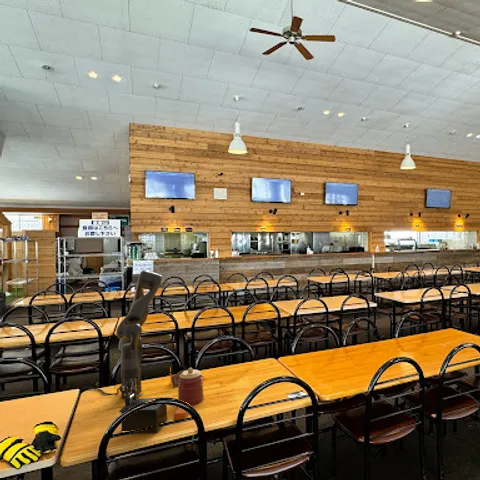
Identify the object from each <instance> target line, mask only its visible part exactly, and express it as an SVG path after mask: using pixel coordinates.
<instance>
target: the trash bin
mask: <svg viewBox="0 0 480 480" xmlns="http://www.w3.org/2000/svg"><path fill="white" fill-rule="evenodd" d="M122 413H124V412H120V415H121V414H122ZM167 421H168V404H167V405H165V404H162V405H161V406H160V407H159V409H158V410H157V411H145V412H135V413H133V414H131V415H130V416H128V417H127V418H126V419H125V420H124V421H123V422H122V423H120V424H121V432H122V431H131V430H137V429H142V428H146V427H151V426H156V427H154V428H151V429H147V430H143V431H139V432H135V433H131V434H130V435H136V434H139V435H141V434H158V433H159V430H160V429H161V428H162V427H163V425H162V426H160V427H157V425H160V424H161V423H164V424H165V423H166V422H167Z"/></svg>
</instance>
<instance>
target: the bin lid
mask: <svg viewBox="0 0 480 480" xmlns="http://www.w3.org/2000/svg"><path fill="white" fill-rule="evenodd" d="M134 396H135V393H131V395H130V398H131V399H132V400H131V405H130V406H125V405H124V406H122V407H121V408H120V409H119V410H118V412H119V413H121V412H125V411H127V410H128V409H129V408H131V407H133V406H135V405H137V404H139V403H141V402H144V401H148V400H152V399H157V398H158V397H144V398H139V397H137V398H136V400H134ZM161 405H162V404H158V405H153V406H149V407H146V408H143V409H141V410H138V411H137V412H145V411H157V410H158V409H159V407H160V406H161Z"/></svg>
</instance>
